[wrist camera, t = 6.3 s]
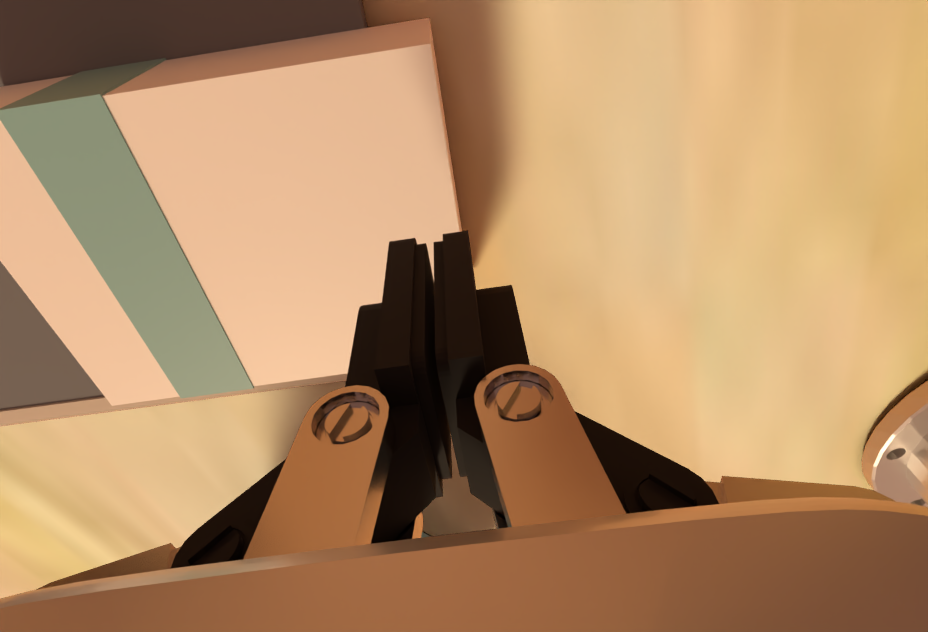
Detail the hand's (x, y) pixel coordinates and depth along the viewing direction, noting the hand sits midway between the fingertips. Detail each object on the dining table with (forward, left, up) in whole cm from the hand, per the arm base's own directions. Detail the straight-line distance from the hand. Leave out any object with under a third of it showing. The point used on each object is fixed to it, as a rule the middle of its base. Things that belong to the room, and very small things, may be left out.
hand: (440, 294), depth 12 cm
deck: (-1, 0, -5) cm, 5 cm away
